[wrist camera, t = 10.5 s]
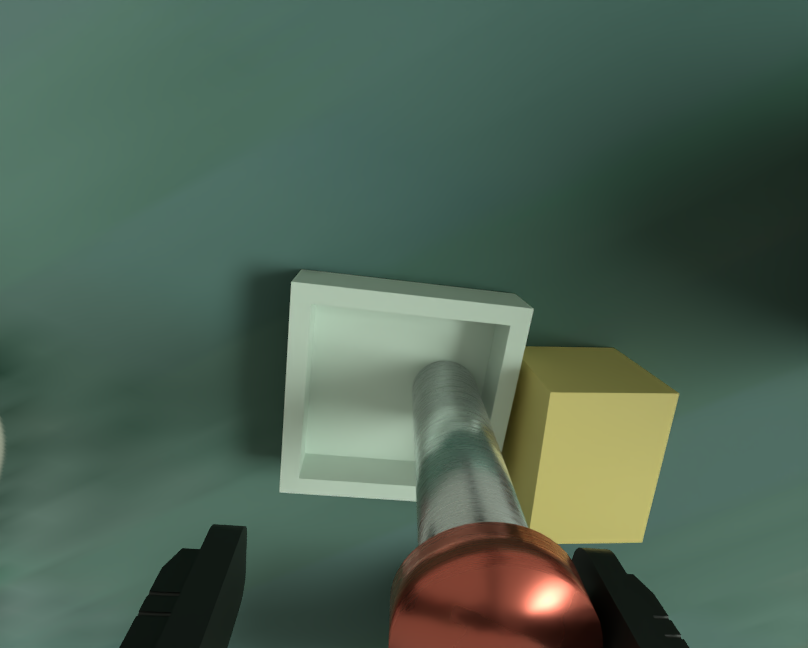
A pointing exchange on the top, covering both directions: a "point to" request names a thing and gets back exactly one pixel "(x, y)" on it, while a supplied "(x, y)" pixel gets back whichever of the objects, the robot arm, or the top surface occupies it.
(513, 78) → the top surface
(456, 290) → the tray
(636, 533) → the block
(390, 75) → the top surface
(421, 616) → the pin
